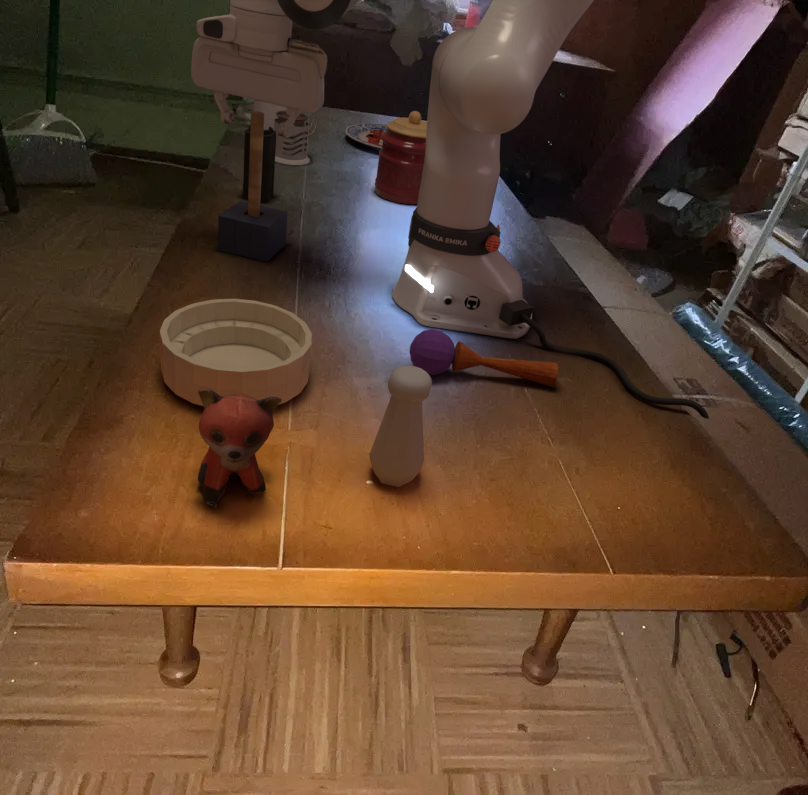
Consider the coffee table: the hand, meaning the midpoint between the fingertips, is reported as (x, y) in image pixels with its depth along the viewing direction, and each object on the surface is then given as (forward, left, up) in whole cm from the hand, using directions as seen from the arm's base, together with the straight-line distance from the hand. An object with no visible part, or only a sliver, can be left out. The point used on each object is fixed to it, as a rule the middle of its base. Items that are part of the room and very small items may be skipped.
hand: (255, 129), depth 113 cm
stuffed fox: (-22, +56, -20) cm, 63 cm away
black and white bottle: (+9, -24, -20) cm, 32 cm away
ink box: (+23, -72, -20) cm, 78 cm away
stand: (0, 0, -20) cm, 20 cm away
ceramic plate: (-4, -84, -20) cm, 86 cm away
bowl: (-14, +38, -20) cm, 45 cm away
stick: (0, 0, -20) cm, 20 cm away
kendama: (-43, +24, -20) cm, 53 cm away
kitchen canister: (-16, -45, -20) cm, 52 cm away
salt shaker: (-37, +49, -20) cm, 65 cm away
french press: (+13, -54, -20) cm, 59 cm away
